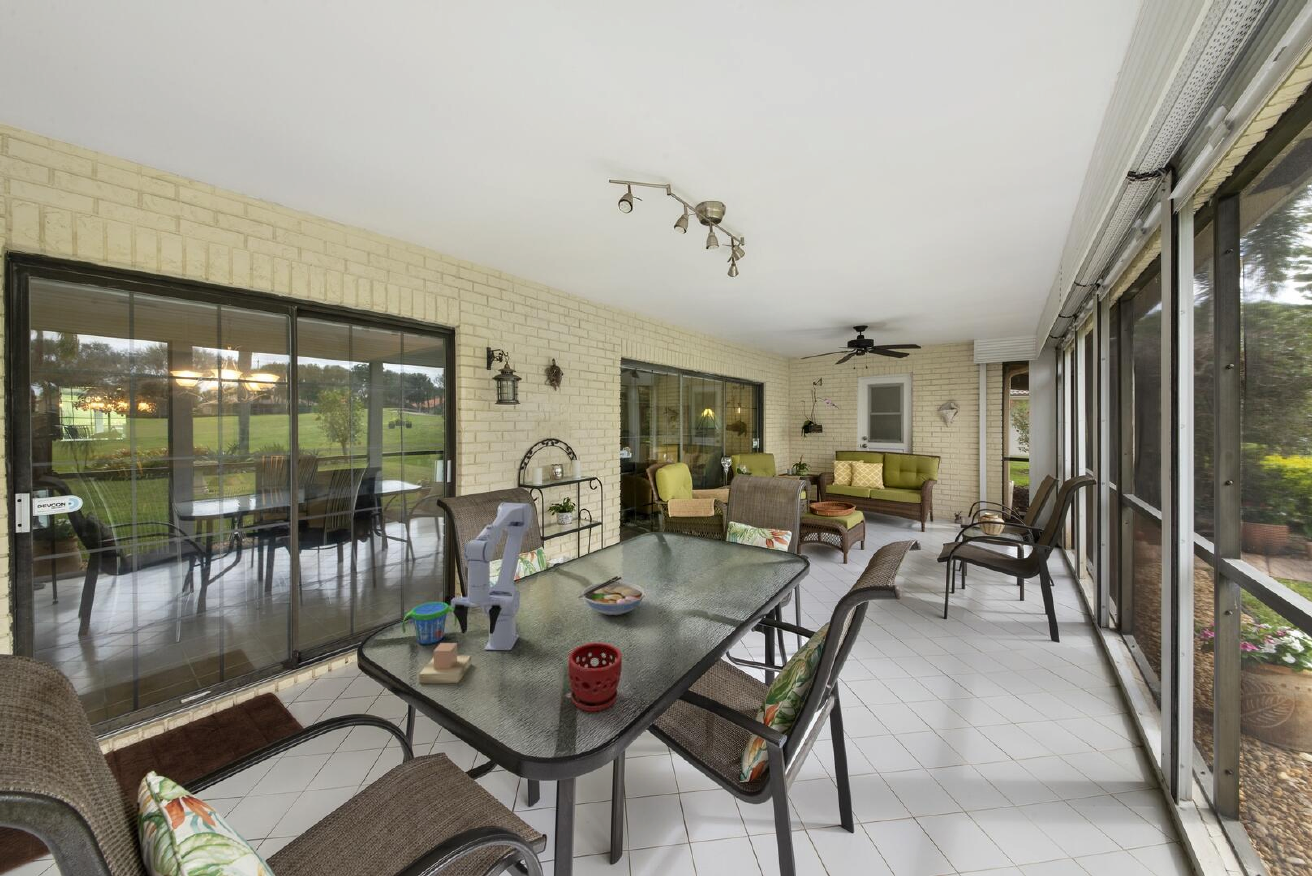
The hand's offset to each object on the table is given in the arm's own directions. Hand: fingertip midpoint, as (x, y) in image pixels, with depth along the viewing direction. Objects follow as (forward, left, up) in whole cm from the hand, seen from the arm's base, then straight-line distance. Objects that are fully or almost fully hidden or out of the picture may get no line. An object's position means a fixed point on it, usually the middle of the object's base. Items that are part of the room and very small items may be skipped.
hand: (478, 632), depth 136 cm
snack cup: (-18, -21, -11) cm, 29 cm away
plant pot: (+15, +34, -11) cm, 39 cm away
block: (+3, -8, -8) cm, 12 cm away
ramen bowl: (-41, +35, -11) cm, 55 cm away
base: (+2, -8, -10) cm, 13 cm away
